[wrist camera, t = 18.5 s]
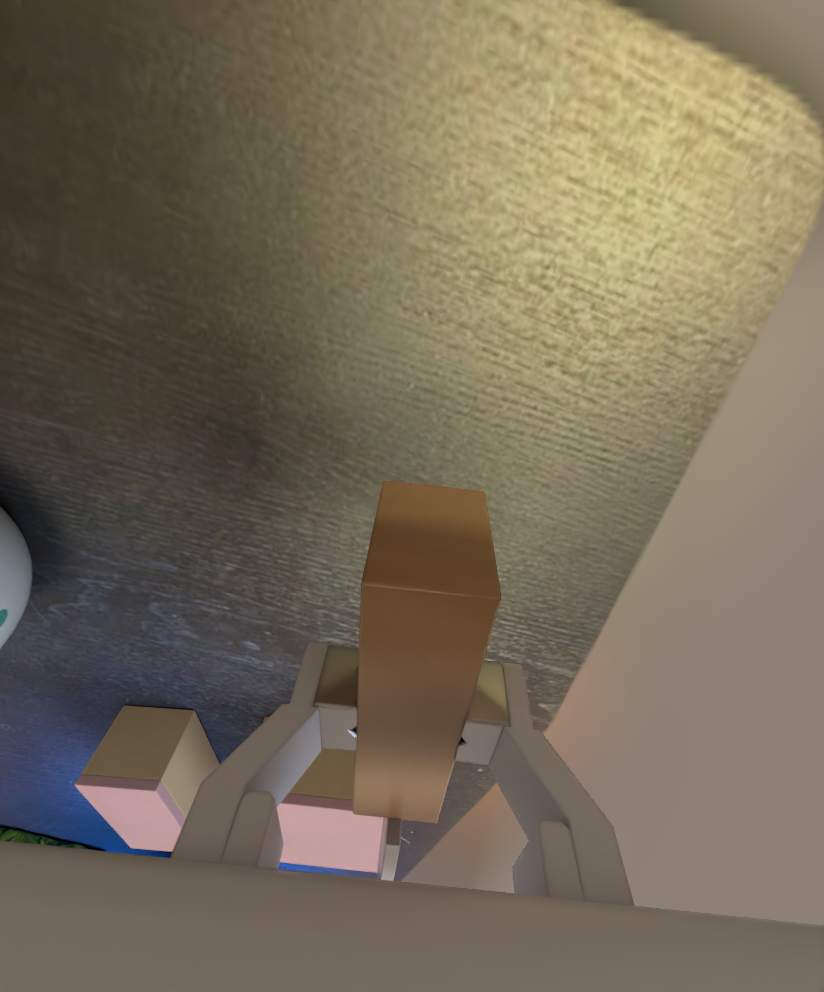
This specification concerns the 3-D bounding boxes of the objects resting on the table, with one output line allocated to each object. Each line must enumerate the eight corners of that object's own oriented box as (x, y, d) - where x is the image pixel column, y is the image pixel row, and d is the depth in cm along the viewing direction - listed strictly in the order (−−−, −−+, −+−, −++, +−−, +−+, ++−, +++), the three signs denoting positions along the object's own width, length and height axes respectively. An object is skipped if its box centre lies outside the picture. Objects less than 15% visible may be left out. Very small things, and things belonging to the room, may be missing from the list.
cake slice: (195, 709, 30) (155, 791, 26) (227, 778, 36) (198, 854, 32) (123, 704, 30) (73, 784, 26) (166, 773, 36) (130, 848, 32)
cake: (396, 729, 30) (389, 815, 26) (388, 794, 36) (381, 873, 31) (264, 715, 30) (236, 798, 26) (277, 782, 36) (255, 859, 31)
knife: (383, 478, 10) (354, 609, 7) (485, 489, 10) (507, 626, 7) (359, 849, 22) (344, 962, 19) (406, 854, 22) (400, 968, 19)
